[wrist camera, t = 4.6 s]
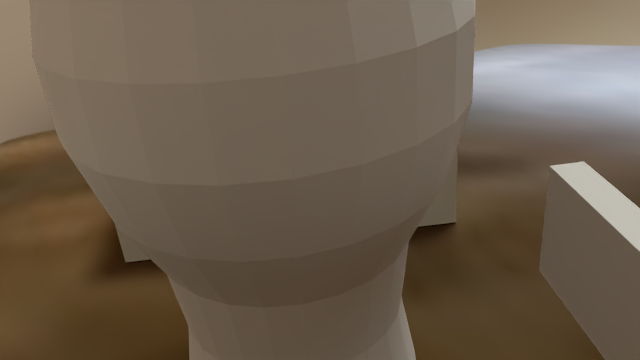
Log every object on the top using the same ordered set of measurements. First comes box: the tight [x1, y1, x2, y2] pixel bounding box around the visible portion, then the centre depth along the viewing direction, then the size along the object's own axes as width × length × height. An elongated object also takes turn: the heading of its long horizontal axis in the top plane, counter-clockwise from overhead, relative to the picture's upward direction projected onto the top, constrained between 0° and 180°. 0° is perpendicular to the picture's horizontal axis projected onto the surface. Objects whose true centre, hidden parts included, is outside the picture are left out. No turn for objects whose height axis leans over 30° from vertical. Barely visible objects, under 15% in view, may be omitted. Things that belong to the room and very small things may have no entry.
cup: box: [29, 0, 475, 360], centre depth 17 cm, size 11×11×15 cm
